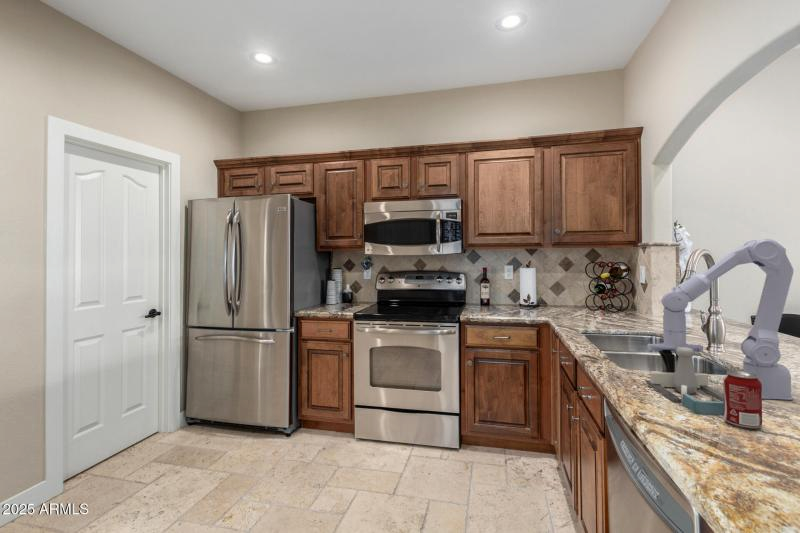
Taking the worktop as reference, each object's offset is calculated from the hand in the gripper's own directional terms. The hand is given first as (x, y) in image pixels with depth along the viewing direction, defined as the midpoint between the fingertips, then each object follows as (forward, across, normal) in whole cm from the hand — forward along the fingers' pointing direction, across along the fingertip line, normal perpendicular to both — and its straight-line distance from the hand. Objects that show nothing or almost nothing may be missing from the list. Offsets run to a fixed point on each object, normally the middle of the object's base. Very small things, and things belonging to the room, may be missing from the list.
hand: (675, 374), depth 119 cm
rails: (+3, 0, +7) cm, 8 cm away
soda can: (+4, -1, +29) cm, 29 cm away
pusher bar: (+3, 0, -1) cm, 3 cm away
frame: (+3, 0, +20) cm, 20 cm away
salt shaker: (+4, 0, +6) cm, 7 cm away
